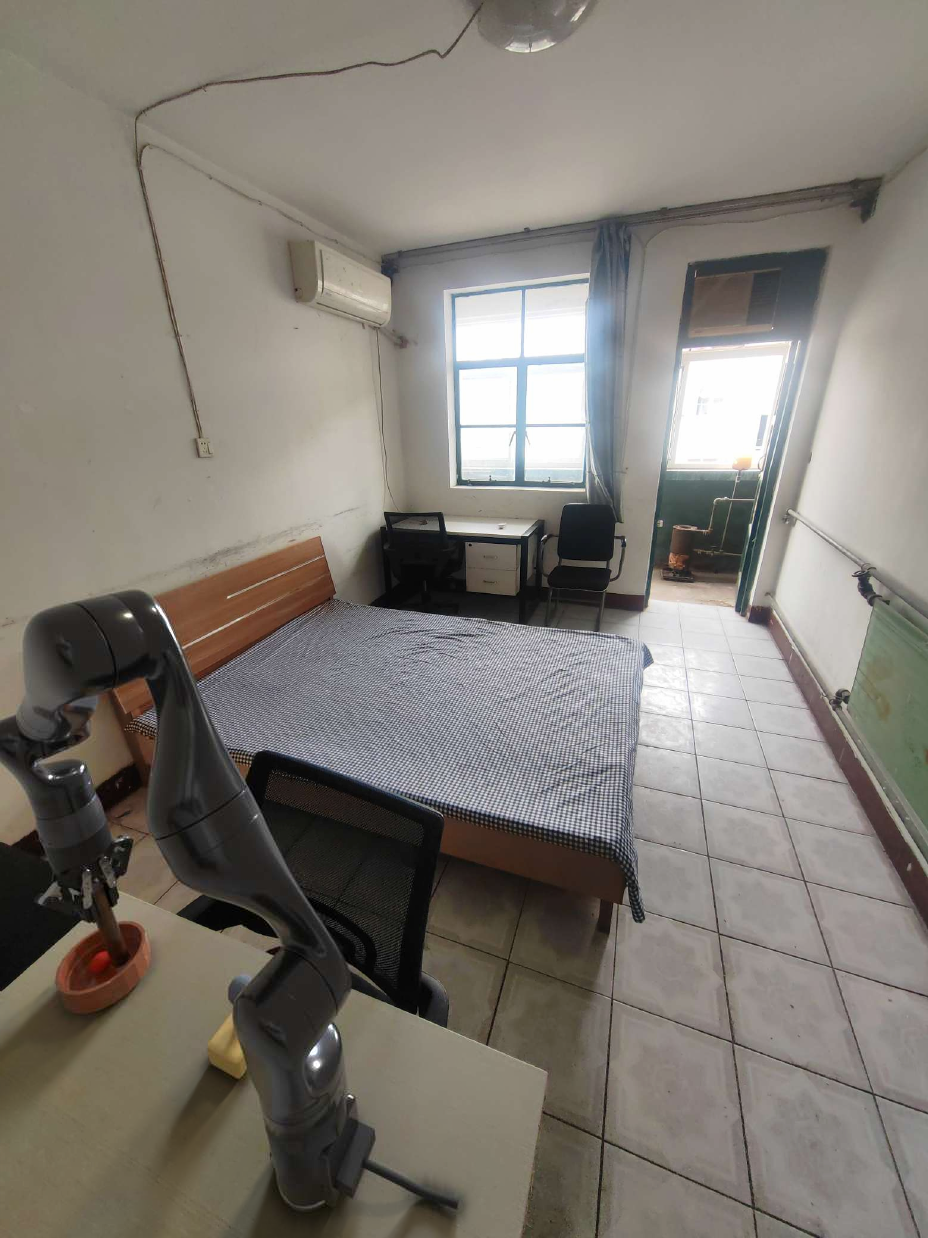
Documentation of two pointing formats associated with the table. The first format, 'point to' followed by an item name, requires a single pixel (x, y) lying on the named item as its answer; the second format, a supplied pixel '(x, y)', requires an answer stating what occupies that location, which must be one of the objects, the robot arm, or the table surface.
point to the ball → (100, 962)
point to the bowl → (107, 987)
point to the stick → (109, 927)
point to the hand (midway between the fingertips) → (102, 911)
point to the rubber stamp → (229, 1037)
